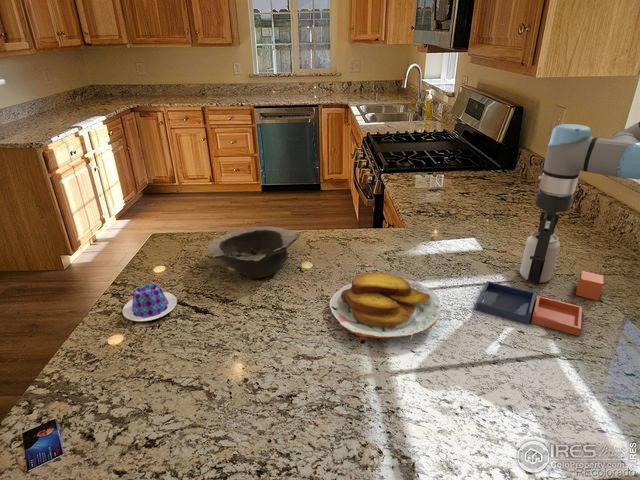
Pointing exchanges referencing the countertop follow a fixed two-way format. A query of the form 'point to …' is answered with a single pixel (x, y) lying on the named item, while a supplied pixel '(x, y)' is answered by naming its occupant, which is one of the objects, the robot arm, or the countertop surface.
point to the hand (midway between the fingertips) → (535, 271)
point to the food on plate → (385, 306)
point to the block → (589, 285)
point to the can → (549, 257)
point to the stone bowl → (253, 250)
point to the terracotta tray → (557, 315)
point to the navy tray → (506, 302)
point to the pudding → (149, 303)
